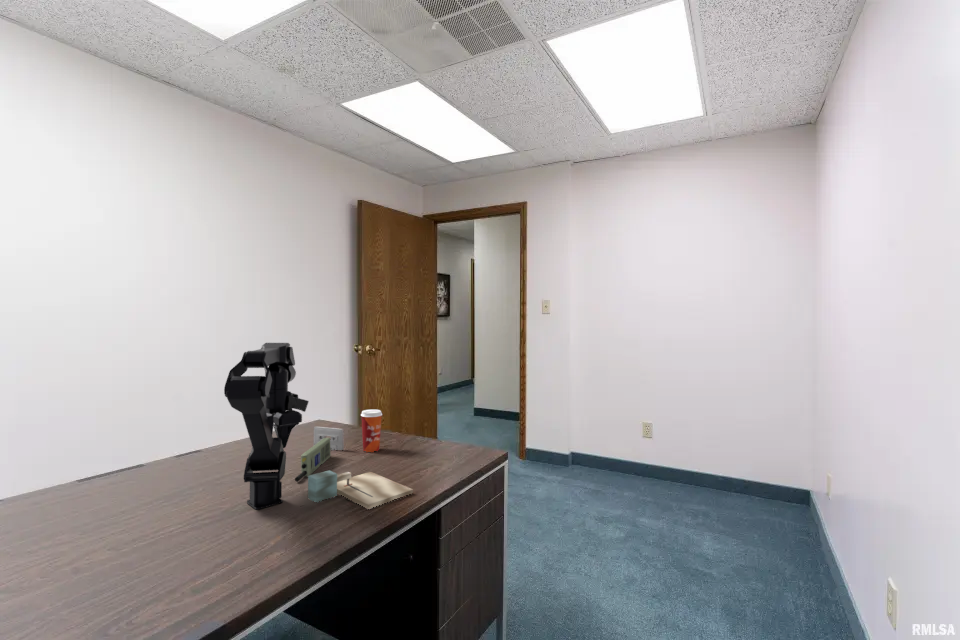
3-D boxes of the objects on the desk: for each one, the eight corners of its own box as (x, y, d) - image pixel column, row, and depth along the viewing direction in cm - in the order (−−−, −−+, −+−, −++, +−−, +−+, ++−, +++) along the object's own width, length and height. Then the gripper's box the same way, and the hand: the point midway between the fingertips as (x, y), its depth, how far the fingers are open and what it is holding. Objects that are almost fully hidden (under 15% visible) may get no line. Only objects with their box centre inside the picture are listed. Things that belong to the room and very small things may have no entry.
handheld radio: (332, 457, 153) (303, 483, 128) (322, 457, 153) (291, 484, 128) (331, 437, 153) (302, 460, 128) (322, 437, 153) (290, 460, 128)
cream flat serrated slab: (368, 509, 111) (368, 504, 111) (327, 488, 124) (327, 483, 124) (412, 493, 121) (412, 489, 121) (370, 475, 134) (370, 471, 134)
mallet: (315, 503, 114) (315, 479, 114) (307, 498, 117) (308, 475, 117) (353, 491, 122) (353, 469, 122) (345, 487, 125) (346, 466, 125)
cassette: (344, 450, 160) (344, 428, 160) (341, 451, 159) (341, 429, 159) (315, 447, 164) (315, 426, 164) (312, 448, 162) (312, 427, 162)
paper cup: (369, 454, 155) (370, 414, 155) (355, 450, 160) (356, 411, 160) (387, 449, 161) (387, 410, 161) (373, 445, 166) (373, 408, 166)
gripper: (320, 389, 123) (320, 445, 123) (290, 381, 136) (289, 433, 136) (280, 393, 115) (279, 454, 115) (251, 385, 128) (250, 440, 128)
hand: (275, 444), depth 124 cm, fingers open, 9 cm apart
